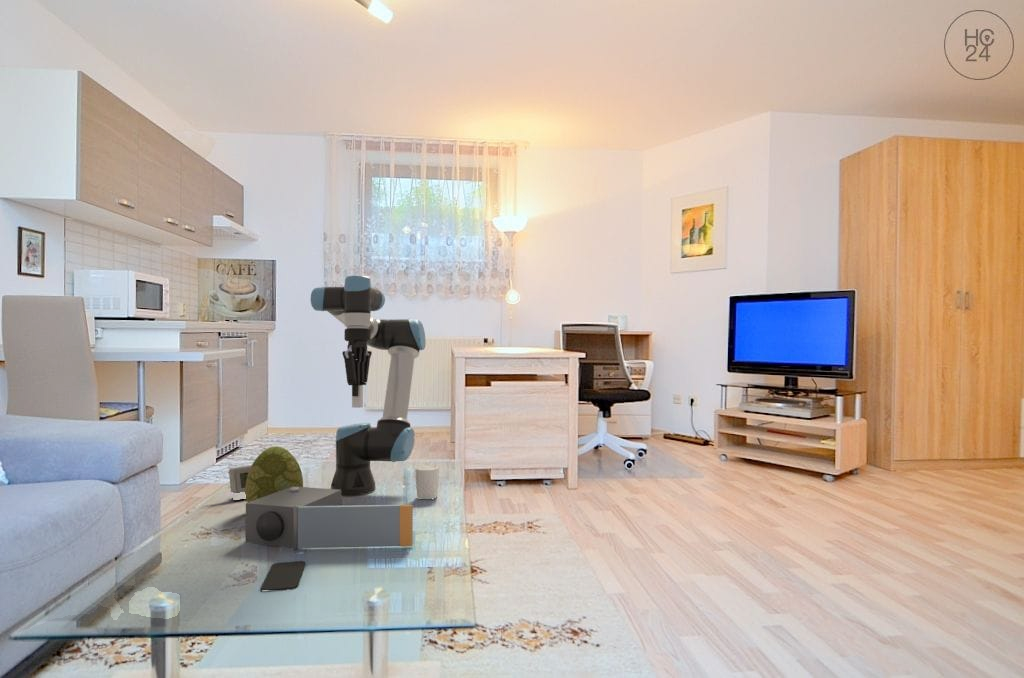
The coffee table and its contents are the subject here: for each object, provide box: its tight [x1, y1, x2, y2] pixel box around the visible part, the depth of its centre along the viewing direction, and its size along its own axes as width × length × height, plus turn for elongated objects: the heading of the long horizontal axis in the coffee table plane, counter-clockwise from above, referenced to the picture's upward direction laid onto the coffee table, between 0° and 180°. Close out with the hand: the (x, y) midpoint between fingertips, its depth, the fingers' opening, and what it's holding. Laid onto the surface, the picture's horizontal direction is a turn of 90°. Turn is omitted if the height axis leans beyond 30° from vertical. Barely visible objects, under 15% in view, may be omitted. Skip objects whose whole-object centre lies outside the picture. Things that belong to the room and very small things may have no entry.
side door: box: [292, 504, 414, 550], centre depth 143 cm, size 29×1×10 cm, turn 93°
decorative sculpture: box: [245, 445, 304, 503], centre depth 175 cm, size 16×16×20 cm
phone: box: [260, 560, 306, 591], centre depth 125 cm, size 7×1×15 cm
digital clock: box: [228, 464, 252, 493], centre depth 195 cm, size 16×9×11 cm, turn 122°
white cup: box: [414, 464, 440, 500], centre depth 192 cm, size 8×8×10 cm
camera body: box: [245, 486, 342, 548], centre depth 154 cm, size 21×16×11 cm
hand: (357, 407), depth 171 cm, fingers closed
